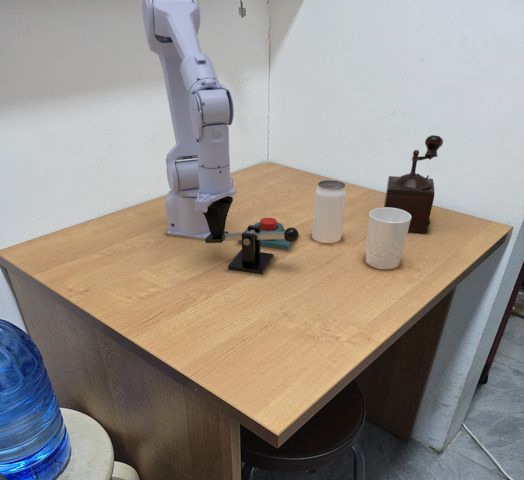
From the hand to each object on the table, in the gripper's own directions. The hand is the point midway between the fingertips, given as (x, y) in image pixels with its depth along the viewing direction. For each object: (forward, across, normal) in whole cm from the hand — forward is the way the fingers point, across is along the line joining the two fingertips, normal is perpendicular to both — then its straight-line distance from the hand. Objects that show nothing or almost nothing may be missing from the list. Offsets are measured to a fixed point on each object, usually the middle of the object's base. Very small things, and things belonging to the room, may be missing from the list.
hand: (217, 235), depth 96 cm
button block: (+5, +12, -7) cm, 15 cm away
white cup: (+6, +9, -32) cm, 34 cm away
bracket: (+5, 0, -7) cm, 9 cm away
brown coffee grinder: (+5, +34, -35) cm, 49 cm away
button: (+2, +12, -7) cm, 14 cm away
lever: (+1, 0, -7) cm, 7 cm away
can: (+5, +17, -19) cm, 26 cm away
